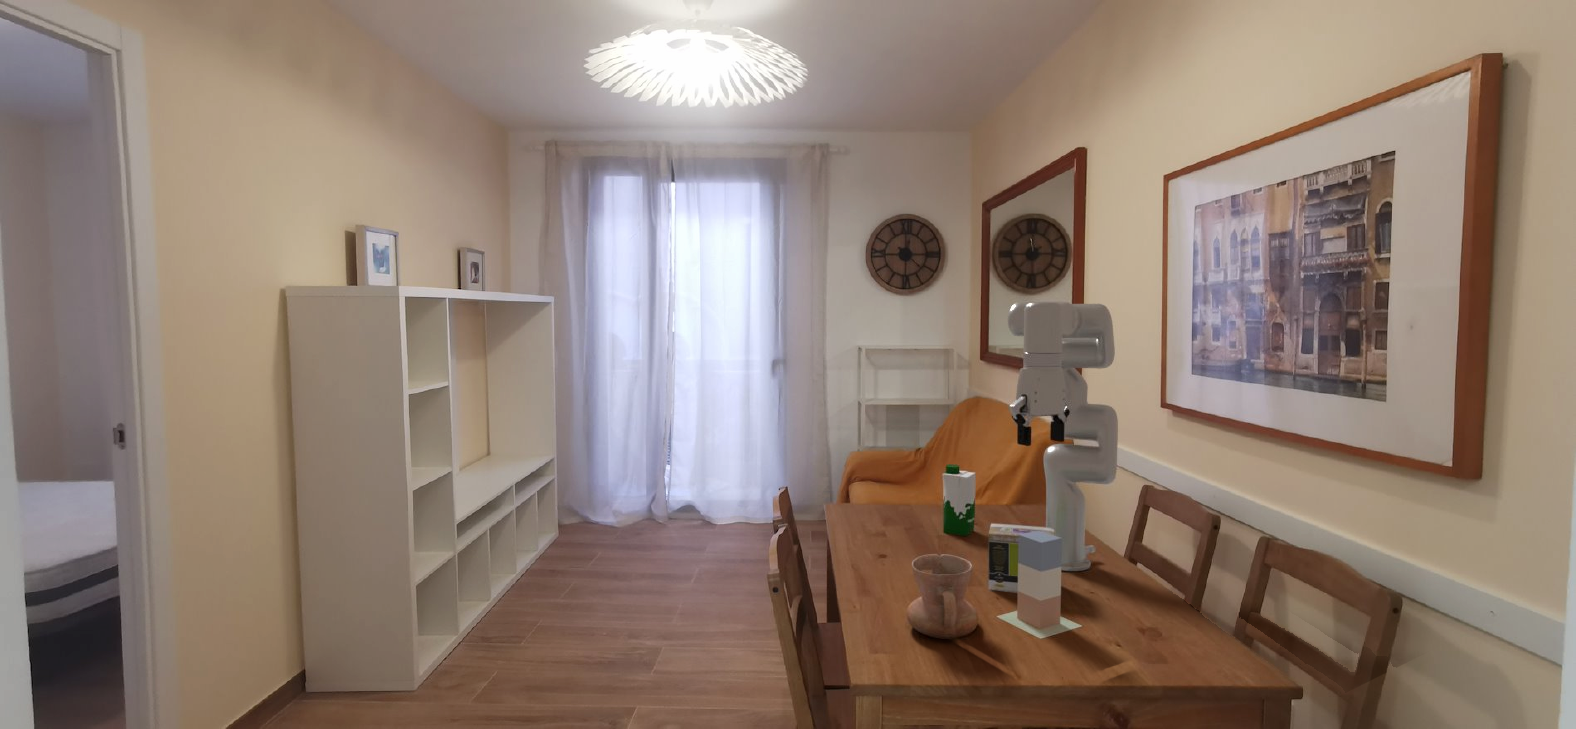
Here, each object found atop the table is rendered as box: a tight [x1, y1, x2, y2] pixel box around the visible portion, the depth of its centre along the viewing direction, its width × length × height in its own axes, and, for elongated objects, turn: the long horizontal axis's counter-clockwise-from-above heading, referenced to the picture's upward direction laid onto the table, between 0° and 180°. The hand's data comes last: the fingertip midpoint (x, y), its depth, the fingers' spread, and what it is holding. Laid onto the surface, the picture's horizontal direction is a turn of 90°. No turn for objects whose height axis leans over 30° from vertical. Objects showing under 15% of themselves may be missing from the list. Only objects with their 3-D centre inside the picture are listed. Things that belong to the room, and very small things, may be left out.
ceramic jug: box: [906, 553, 979, 640], centre depth 145 cm, size 18×14×14 cm
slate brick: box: [1018, 531, 1062, 572], centre depth 146 cm, size 6×6×6 cm
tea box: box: [987, 522, 1055, 594], centre depth 167 cm, size 15×10×15 cm, turn 71°
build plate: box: [995, 610, 1083, 640], centre depth 147 cm, size 12×12×1 cm
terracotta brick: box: [1016, 591, 1062, 630], centre depth 147 cm, size 6×6×6 cm
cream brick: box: [1018, 563, 1062, 601], centre depth 147 cm, size 6×6×6 cm
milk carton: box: [942, 464, 976, 537], centre depth 213 cm, size 9×9×20 cm
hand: (1040, 442), depth 148 cm, fingers open, 9 cm apart
